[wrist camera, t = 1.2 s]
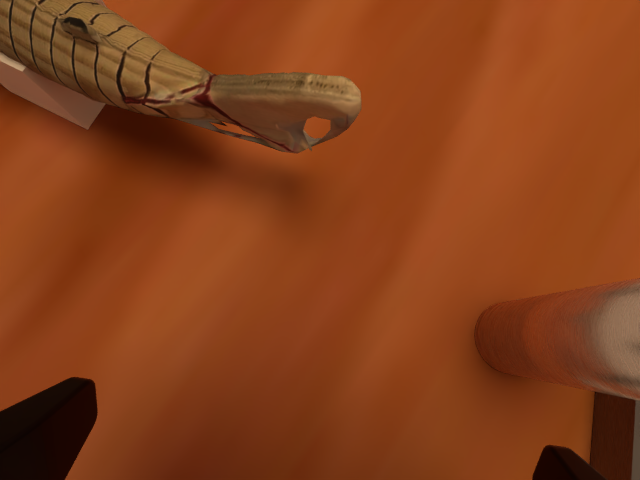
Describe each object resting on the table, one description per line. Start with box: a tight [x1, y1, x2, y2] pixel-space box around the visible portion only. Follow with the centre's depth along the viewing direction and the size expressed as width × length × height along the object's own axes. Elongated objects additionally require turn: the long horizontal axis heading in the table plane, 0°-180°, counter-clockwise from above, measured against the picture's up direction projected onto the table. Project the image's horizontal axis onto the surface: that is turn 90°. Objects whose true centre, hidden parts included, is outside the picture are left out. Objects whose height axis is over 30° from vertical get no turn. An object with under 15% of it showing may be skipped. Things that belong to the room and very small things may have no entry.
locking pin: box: [475, 278, 640, 401], centre depth 17 cm, size 4×4×14 cm
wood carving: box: [0, 0, 361, 153], centre depth 22 cm, size 9×35×11 cm, turn 63°
